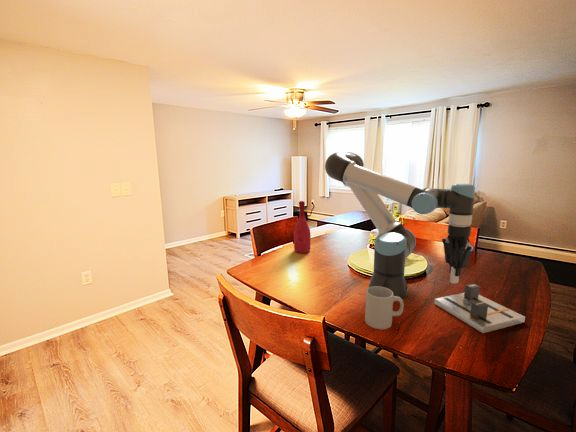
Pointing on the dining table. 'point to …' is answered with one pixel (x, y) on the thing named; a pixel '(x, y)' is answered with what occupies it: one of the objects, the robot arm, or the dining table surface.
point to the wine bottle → (302, 232)
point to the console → (479, 312)
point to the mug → (381, 307)
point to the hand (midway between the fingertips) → (453, 282)
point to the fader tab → (471, 291)
